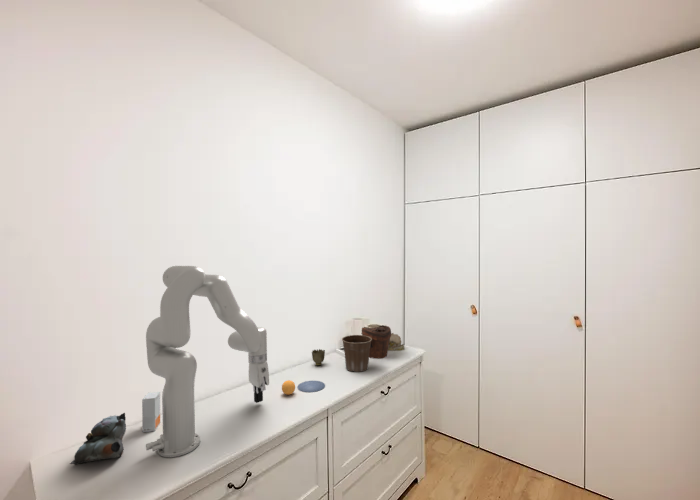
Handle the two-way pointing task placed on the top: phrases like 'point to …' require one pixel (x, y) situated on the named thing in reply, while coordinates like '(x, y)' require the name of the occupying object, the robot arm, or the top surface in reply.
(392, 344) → the ceramic model
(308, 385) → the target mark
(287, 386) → the ball
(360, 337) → the plant pot
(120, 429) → the lucky cat figurine
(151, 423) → the skincare box
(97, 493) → the top surface
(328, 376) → the top surface
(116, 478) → the top surface
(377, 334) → the brown lidded basket
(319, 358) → the cup
